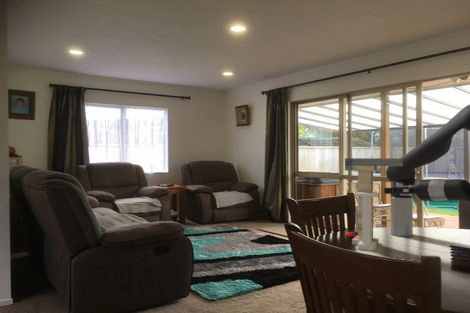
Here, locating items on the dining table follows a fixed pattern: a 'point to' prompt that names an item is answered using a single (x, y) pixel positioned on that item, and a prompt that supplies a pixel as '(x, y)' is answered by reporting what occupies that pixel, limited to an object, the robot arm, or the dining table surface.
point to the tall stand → (363, 186)
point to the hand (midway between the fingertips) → (390, 190)
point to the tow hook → (355, 233)
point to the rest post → (366, 221)
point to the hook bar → (372, 162)
